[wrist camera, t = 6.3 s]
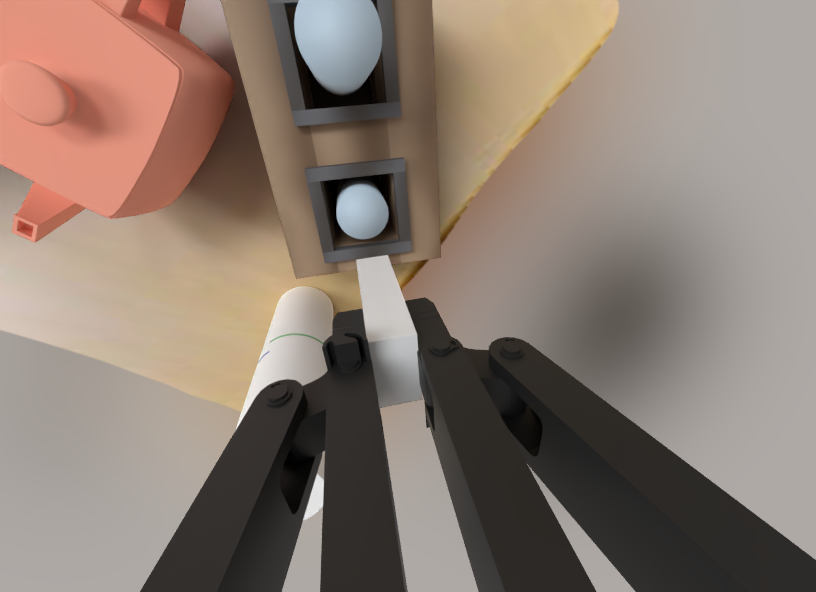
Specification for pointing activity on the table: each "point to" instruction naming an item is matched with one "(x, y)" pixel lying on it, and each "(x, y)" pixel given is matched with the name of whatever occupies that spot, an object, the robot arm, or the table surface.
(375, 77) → the wooden peg block
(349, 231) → the peg rear
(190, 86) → the teapot
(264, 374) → the cylindrical container
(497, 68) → the table surface
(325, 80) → the peg front
